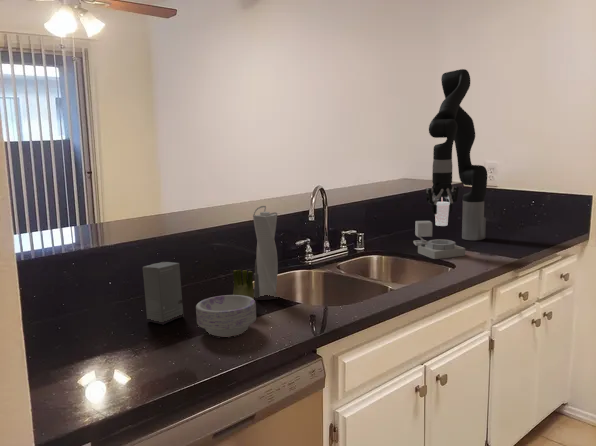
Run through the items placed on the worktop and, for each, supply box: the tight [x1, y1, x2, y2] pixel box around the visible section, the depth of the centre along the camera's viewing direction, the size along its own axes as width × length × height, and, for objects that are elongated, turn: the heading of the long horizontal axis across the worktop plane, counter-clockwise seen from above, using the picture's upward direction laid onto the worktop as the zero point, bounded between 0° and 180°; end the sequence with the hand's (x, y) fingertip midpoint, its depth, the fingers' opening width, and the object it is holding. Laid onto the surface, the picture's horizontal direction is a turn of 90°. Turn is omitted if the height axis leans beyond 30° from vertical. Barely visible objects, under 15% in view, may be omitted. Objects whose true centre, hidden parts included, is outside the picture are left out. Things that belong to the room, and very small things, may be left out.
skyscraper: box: [252, 205, 279, 298], centre depth 168 cm, size 8×8×28 cm
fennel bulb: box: [232, 269, 254, 299], centre depth 157 cm, size 6×5×12 cm
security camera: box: [413, 220, 433, 247], centre depth 239 cm, size 6×7×10 cm
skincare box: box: [142, 261, 184, 322], centre depth 151 cm, size 8×7×16 cm
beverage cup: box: [434, 197, 450, 227], centre depth 217 cm, size 6×6×14 cm
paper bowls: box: [195, 294, 257, 336], centre depth 141 cm, size 15×15×8 cm
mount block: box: [417, 238, 466, 260], centre depth 219 cm, size 14×12×5 cm
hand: (441, 213), depth 217 cm, fingers closed on beverage cup, 6 cm apart
